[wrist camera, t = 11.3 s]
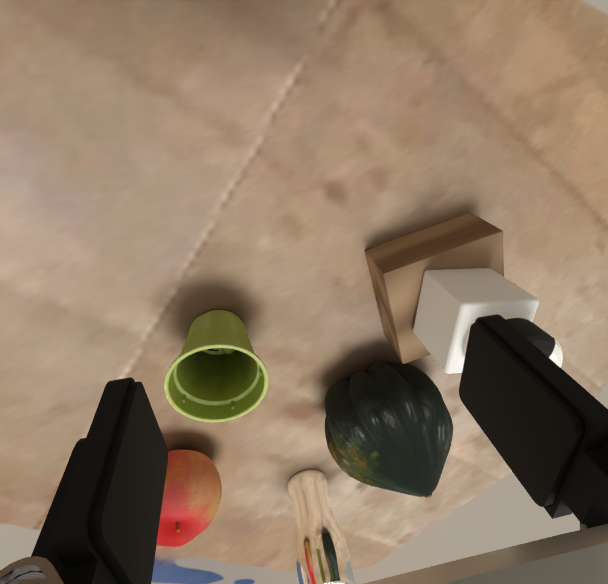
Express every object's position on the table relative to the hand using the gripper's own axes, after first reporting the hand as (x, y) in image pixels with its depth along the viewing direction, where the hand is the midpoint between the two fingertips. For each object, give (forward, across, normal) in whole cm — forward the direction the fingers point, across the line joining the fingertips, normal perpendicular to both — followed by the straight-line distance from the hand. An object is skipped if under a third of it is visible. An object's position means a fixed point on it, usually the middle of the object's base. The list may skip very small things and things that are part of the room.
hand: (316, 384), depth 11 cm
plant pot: (+28, +6, +17) cm, 34 cm away
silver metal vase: (+28, -2, +47) cm, 55 cm away
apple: (+28, +14, +36) cm, 48 cm away
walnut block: (+28, -18, +14) cm, 37 cm away
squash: (+28, -12, +30) cm, 43 cm away
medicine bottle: (+22, -18, +14) cm, 32 cm away
